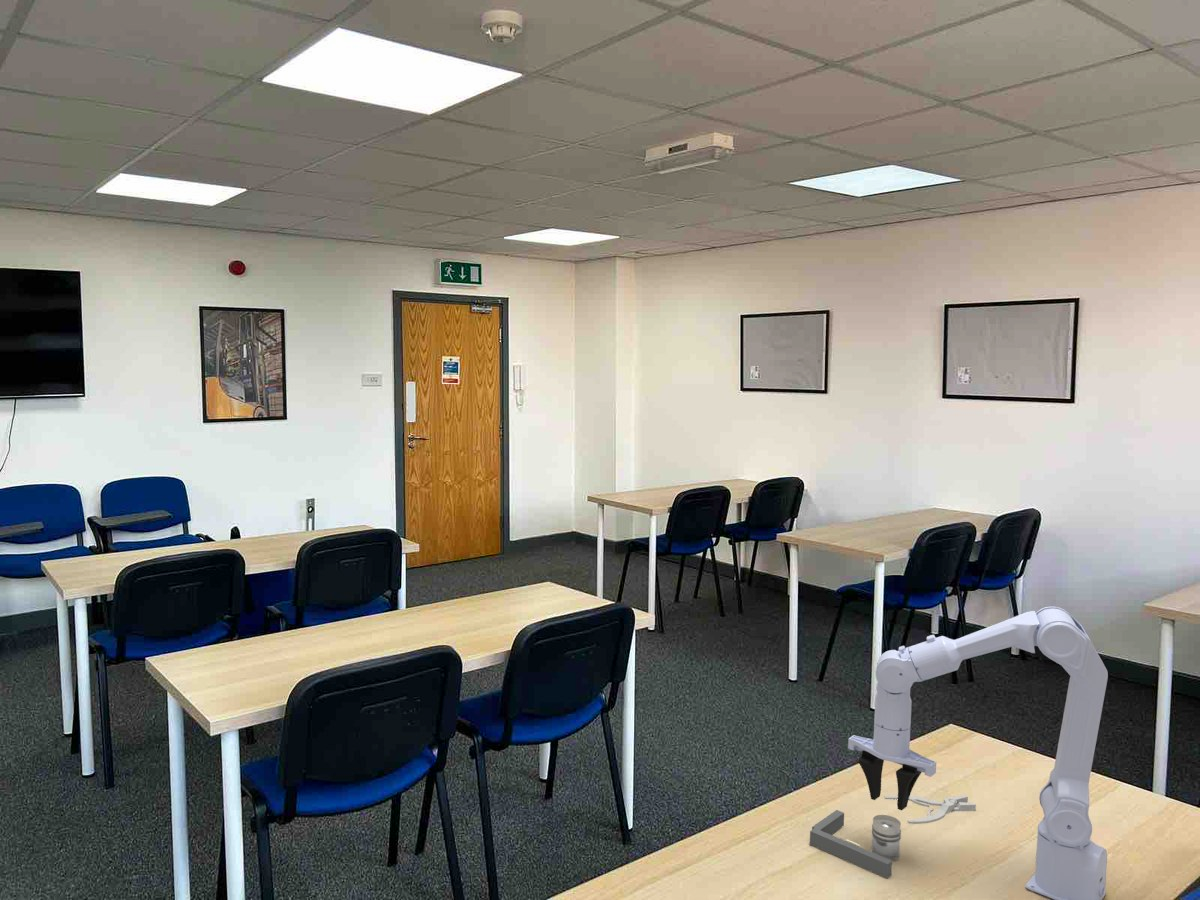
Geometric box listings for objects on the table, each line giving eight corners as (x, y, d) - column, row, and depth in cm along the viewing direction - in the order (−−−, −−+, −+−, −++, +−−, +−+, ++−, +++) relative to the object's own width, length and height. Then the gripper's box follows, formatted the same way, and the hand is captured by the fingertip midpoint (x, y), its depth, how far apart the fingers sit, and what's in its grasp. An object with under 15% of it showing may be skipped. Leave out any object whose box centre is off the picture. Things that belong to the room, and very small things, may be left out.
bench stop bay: (914, 854, 143) (915, 840, 143) (887, 878, 136) (887, 863, 136) (836, 822, 153) (836, 809, 153) (807, 843, 146) (807, 829, 146)
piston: (904, 856, 143) (906, 822, 143) (890, 866, 140) (892, 831, 139) (879, 845, 146) (881, 811, 146) (865, 854, 143) (867, 820, 143)
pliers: (884, 791, 163) (956, 787, 165) (883, 799, 163) (956, 795, 165) (909, 817, 153) (986, 812, 155) (909, 826, 153) (986, 821, 155)
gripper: (945, 730, 139) (941, 809, 140) (863, 705, 150) (860, 780, 151) (927, 742, 134) (923, 825, 135) (843, 716, 144) (840, 793, 146)
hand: (888, 802), depth 143 cm, fingers open, 4 cm apart
